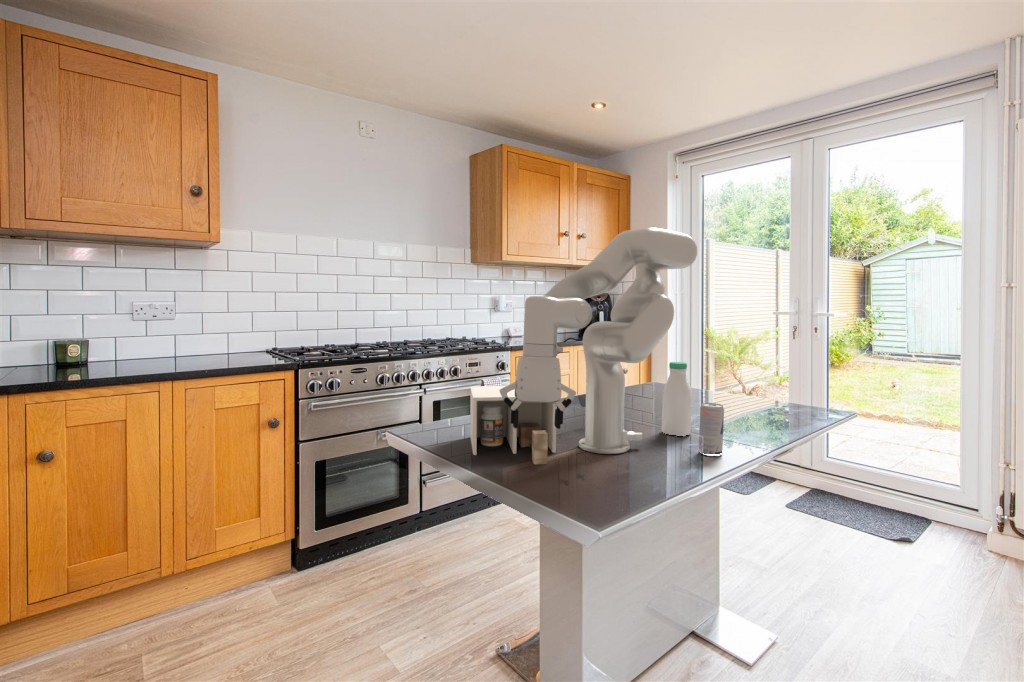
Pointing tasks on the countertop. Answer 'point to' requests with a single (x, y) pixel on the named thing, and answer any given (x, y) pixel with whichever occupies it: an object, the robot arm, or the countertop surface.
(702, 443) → the energy drink
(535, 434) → the wooden block tool
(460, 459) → the countertop surface
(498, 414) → the pill bottle
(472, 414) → the cubby shelf
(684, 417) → the milk bottle
